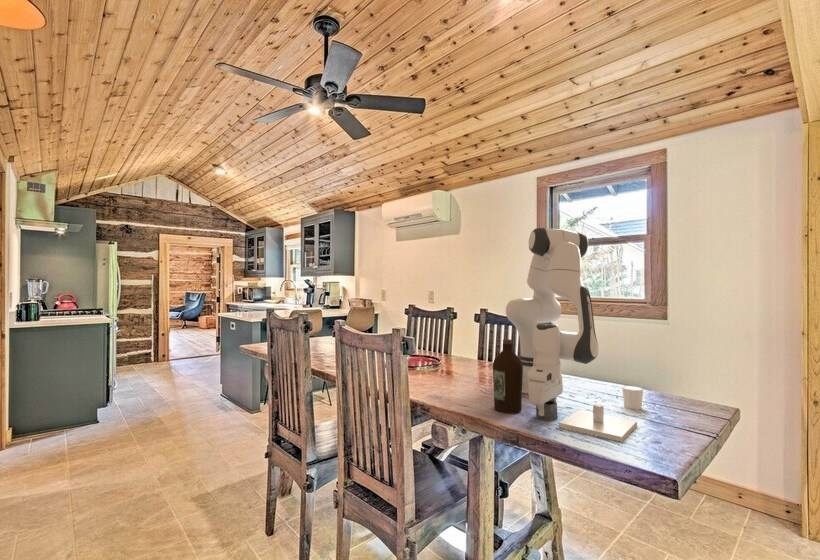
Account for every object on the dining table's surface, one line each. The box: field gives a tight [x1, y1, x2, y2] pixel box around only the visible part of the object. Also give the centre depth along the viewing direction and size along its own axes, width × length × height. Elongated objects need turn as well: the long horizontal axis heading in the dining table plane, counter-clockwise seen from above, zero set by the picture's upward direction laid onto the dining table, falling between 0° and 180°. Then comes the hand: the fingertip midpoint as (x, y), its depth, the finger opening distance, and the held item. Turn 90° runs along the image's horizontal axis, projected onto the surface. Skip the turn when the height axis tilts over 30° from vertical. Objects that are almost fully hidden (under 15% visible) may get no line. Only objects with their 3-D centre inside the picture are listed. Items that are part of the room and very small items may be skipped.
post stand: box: [558, 404, 638, 443], centre depth 129 cm, size 18×18×6 cm
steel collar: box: [535, 400, 558, 421], centre depth 138 cm, size 7×7×5 cm
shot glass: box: [621, 385, 644, 410], centre depth 150 cm, size 7×7×7 cm
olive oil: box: [492, 338, 523, 414], centre depth 147 cm, size 11×11×25 cm
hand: (546, 412), depth 138 cm, fingers closed on steel collar, 7 cm apart
